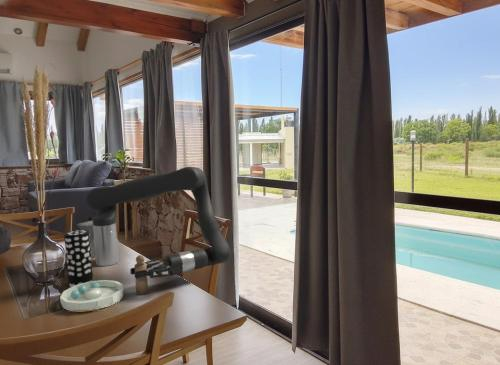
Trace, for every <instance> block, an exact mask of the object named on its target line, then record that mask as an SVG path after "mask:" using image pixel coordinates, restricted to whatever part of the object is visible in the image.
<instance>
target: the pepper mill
mask: <svg viewBox="0 0 500 365" xmlns="http://www.w3.org/2000/svg"><path fill="white" fill-rule="evenodd" d="M135 262H136V264H134V267H135V272H137V271H141V270H146V269H147V264H146V263H144V262H145V257H144V255H141V254H140V255H137V256H136V258H135ZM134 279H135V291H136V293H137V294H138V296H143V295H147V294H148V293H149V282H148V277H147V276H146V277H141V278H137V279H136V278H135V277H134ZM137 294H136V295H137Z"/></svg>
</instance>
